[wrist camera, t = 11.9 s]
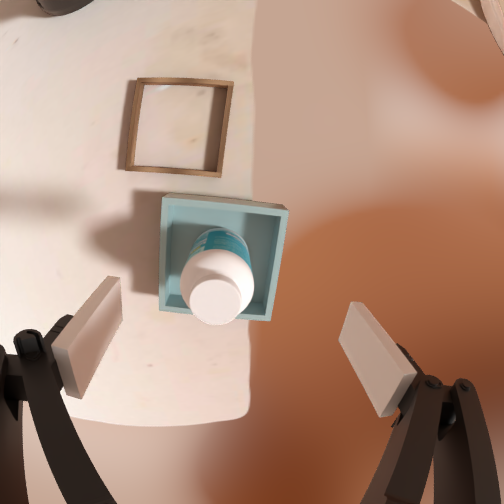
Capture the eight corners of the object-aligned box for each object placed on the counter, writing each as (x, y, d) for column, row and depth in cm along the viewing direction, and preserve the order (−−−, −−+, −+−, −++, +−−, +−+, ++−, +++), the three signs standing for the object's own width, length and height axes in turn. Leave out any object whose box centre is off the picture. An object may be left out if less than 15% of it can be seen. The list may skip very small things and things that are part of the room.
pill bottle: (199, 219, 37) (183, 252, 24) (255, 235, 38) (269, 275, 25) (186, 272, 39) (167, 326, 26) (239, 286, 40) (243, 345, 27)
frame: (129, 170, 35) (125, 170, 33) (140, 80, 31) (137, 77, 30) (221, 177, 36) (220, 177, 35) (233, 84, 32) (233, 81, 31)
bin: (165, 295, 40) (159, 310, 36) (169, 192, 36) (162, 197, 32) (266, 305, 42) (270, 321, 38) (282, 204, 38) (289, 210, 34)
